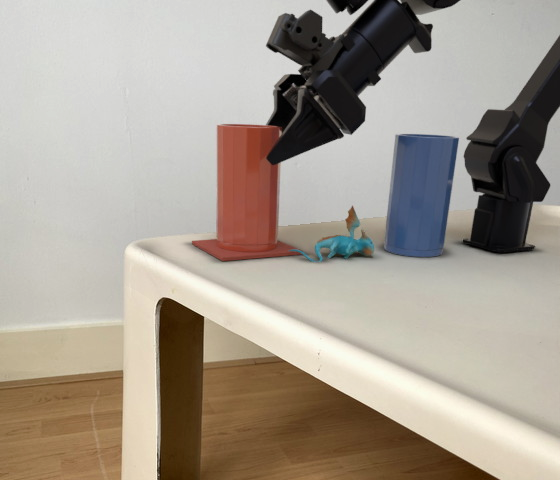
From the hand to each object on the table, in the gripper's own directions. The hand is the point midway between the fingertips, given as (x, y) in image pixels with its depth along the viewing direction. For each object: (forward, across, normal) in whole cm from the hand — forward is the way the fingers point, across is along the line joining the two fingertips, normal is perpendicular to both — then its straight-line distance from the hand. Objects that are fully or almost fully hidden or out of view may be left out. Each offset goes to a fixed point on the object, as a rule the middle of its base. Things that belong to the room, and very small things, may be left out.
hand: (261, 157), depth 69 cm
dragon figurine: (+2, +4, +13) cm, 14 cm away
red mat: (+8, 0, +6) cm, 10 cm away
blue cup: (-6, +2, +20) cm, 21 cm away
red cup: (+8, 0, +6) cm, 10 cm away
